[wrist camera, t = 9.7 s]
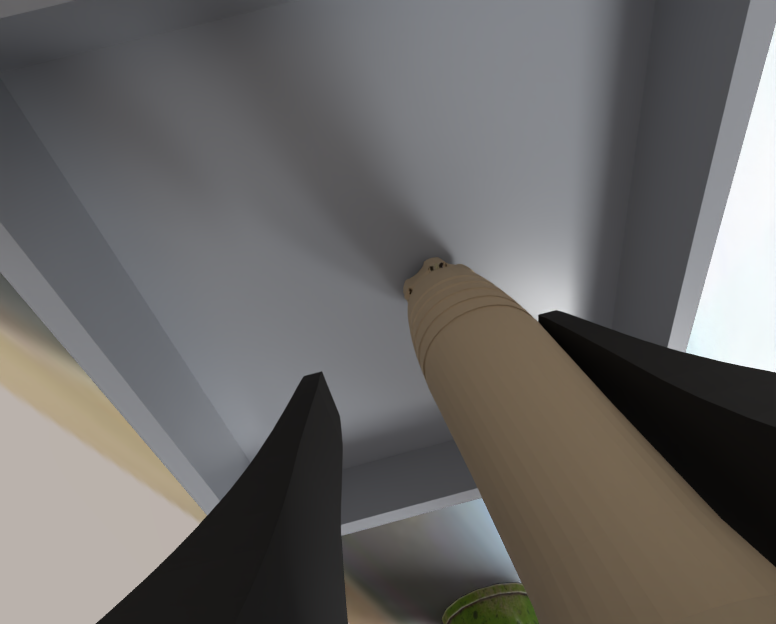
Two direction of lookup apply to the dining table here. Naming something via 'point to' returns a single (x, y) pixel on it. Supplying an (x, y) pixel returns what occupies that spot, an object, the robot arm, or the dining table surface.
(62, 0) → the bin
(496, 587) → the lantern
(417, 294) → the handle
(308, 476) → the robot arm
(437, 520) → the dining table surface
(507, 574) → the dining table surface
